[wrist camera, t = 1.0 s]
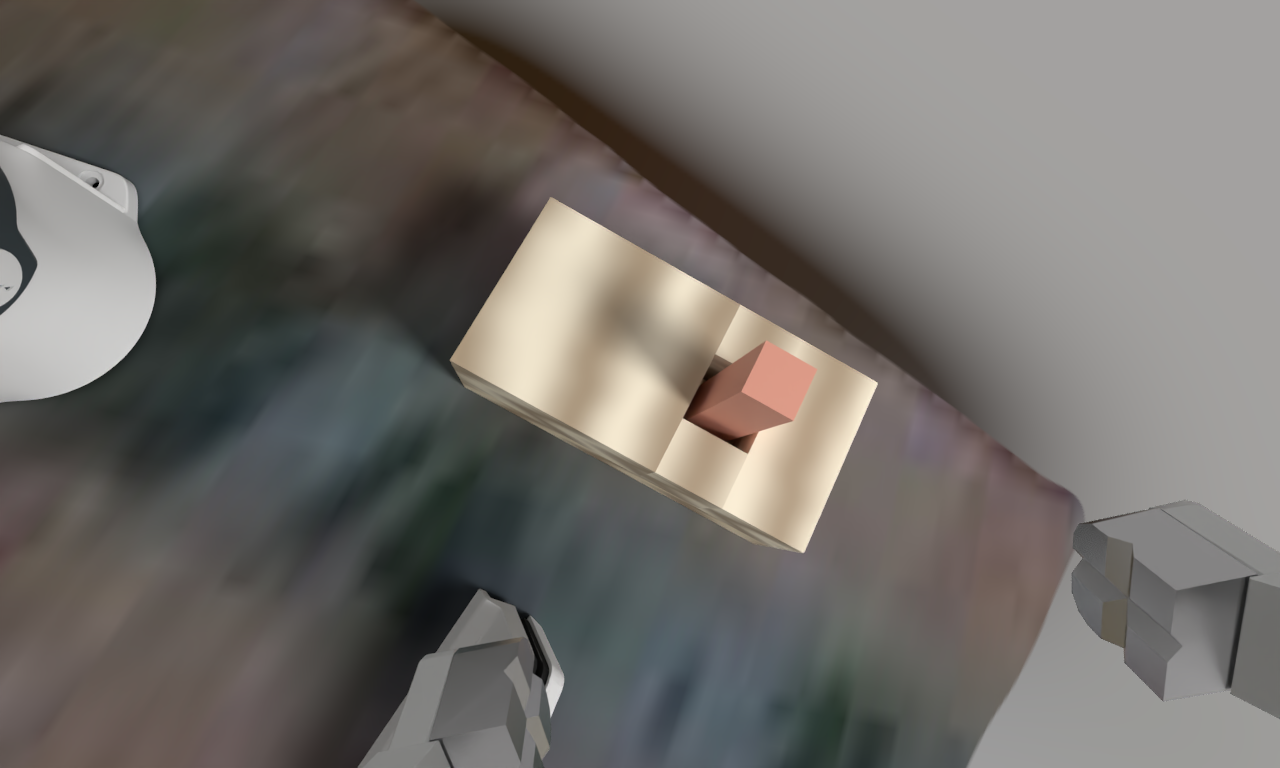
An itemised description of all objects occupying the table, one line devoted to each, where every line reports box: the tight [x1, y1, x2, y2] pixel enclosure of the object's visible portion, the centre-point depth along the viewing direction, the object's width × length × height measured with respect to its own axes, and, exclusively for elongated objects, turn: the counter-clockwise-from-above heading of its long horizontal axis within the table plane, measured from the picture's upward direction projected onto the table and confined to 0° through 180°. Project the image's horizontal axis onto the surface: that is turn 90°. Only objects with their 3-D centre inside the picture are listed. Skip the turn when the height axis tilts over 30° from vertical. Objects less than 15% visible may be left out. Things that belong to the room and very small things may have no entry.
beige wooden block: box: [450, 197, 878, 553], centre depth 45 cm, size 24×12×9 cm, turn 62°
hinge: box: [358, 589, 564, 768], centre depth 39 cm, size 17×5×10 cm, turn 147°
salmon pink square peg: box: [683, 340, 817, 442], centre depth 39 cm, size 3×3×14 cm
